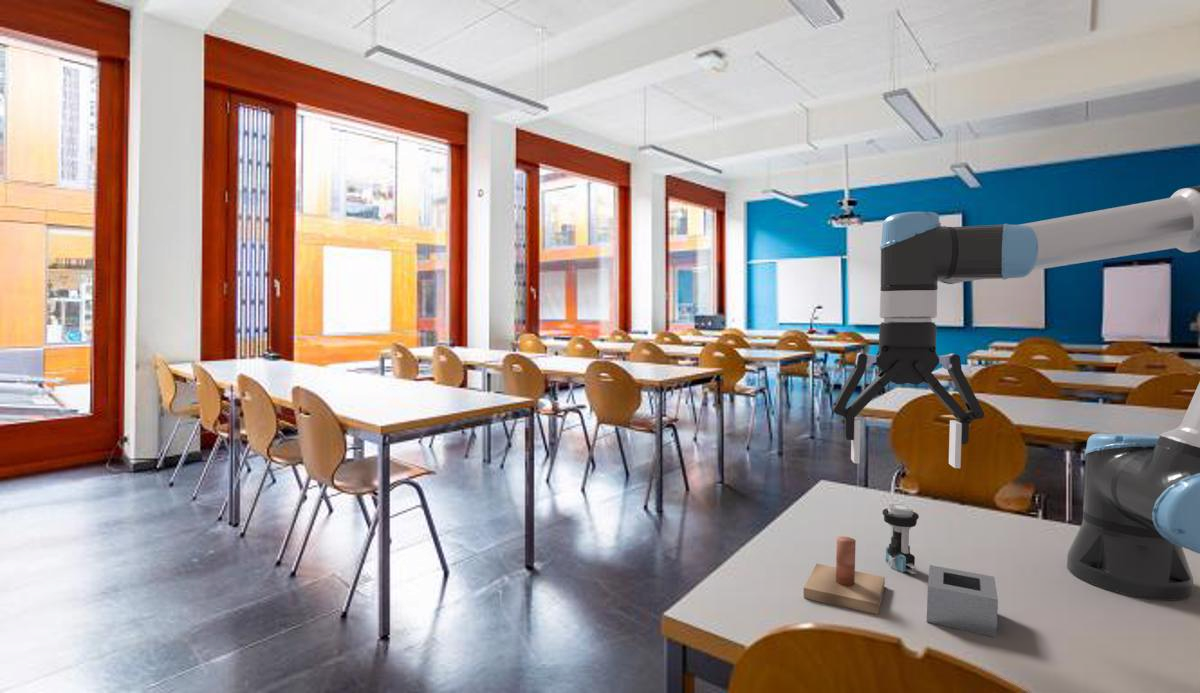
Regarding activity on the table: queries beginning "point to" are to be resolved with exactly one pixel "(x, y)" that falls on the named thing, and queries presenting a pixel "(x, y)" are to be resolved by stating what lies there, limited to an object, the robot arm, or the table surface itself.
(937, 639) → the table surface
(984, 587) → the grey slotted box
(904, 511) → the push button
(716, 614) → the table surface
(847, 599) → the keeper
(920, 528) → the table surface
